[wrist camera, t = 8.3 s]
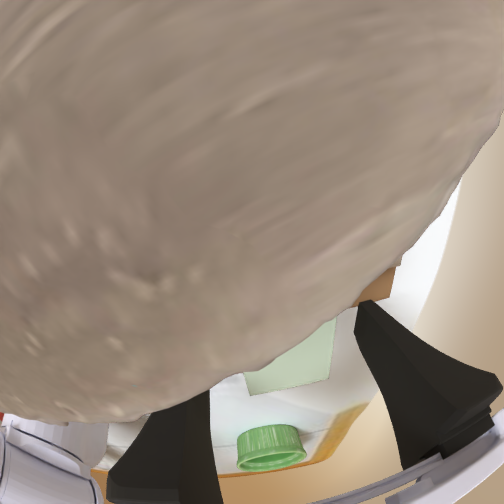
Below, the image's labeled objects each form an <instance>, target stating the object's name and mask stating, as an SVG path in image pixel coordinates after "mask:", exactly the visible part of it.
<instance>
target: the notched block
mask: <svg viewBox="0 0 504 504" xmlns="http://www.w3.org/2000/svg"><path fill="white" fill-rule="evenodd" d="M336 320H337V316H336V317H335V318H334V319H333V320H331V321H328V322H325V323H324V324H323V325H322V326H321V327H319V328H318V329H317V330H316V331H315V332H314V333H313V334H312V335H310V336H309V337H308V338H307V339H305V340H304V341H303V342H301V343H300V344H298V345H297V346H295V347H293V348H292V349H290V350H289V351H287V352H286V353H284V354H282V355H281V356H279V357H277V358H275V360H274V361H273V362H272V363H270V364H269V365H267V366H266V367H264V368H263V369H261V370H259V371H254V372H243V373H244V377H245V380H246V384H247V387H248V391H249V394H250V396H252V395H258V394H263V393H268V392H273V391H278V390H283V389H288V388H292V387H297V386H301V385H305V384H309V383H313V382H317V381H321V380H325V379H329V372H330V366H331V359H332V352H333V344H334V336H335V328H336Z"/></svg>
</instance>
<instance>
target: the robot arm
mask: <svg viewBox="0 0 504 504" xmlns="http://www.w3.org/2000/svg"><path fill="white" fill-rule="evenodd" d="M354 335H355V337H356V340H357V343H358V346H359V348H360V351H361V353H362V355H363V357H364V359H365V361H366V363H367V365H368V367H369V369H370V371H371V373H372V375H373V376H374V378H375V380H376V382H377V384H378V386H379V388H380V391H381V393H382V395H383V398H384V401H385V403H386V406H387V409H388V412H389V415H390V419H391V422H392V425H393V428H394V432H395V437H396V440H397V445H398V450H399V455H400V460H401V465H402V468H403V471H402V472H400V473H397V474H395V475H393V476H390V477H388V478H385V479H383V480H381V481H378V482H375V483H373V484H370V485H368V486H365V487H362V488H359V489H356V490H353V491H350V492H347V493H344V494H342V495H338V496H334V497H331V498H328V499H324V500H320V501H316V502H312V503H308V504H357V503H360V502H363V501H366V500H369V499H371V498H374V497H376V496H379V495H381V494H384V493H386V492H389V491H391V490H393V489H395V488H398V487H400V486H402V485H404V484H407V483H408V482H410V481H413V480H415V479H417V478H418V479H417V480H416V483H415V484H414V485H412V486H410V487H408V488H406V489H404V490H402V491H400V492H398V493H396V494H394V495H392V496H389V497H388V498H386V499H385V501H386V504H453V503H454V502H456V501H457V500H459V499H460V498H462V497H463V496H464V495H466V494H467V493H468V492H470V491H471V490H472V489H474V488H475V487H476V486H477V485H479V484H480V483H481V482H482V481H484V479H486V478H487V477H488V476H490V475H491V474H492V473H493V472H494V471H495V470H496V469H497V468H499V467H500V466H501V465H502V464H503V463H504V408H503V409H501V410H500V411H499V412H497V413H496V414H495V415H494V416H492V417H490V414H489V413H490V412H491V408H490V407H489V405H490V404H491V403H492V402H493V401H494V400H495V399H496V398H497V397H498V396H499V394H500V393H501V392H502V390H503V386H502V384H501V383H500V381H499V380H498V378H497V377H496V375H495V374H493V373H490V372H487V371H483V370H480V369H477V368H474V367H472V366H469V365H467V364H464V363H462V362H460V361H457V360H456V359H454V358H451V357H450V356H447V355H445V354H444V353H442V352H440V351H438V350H437V349H435V348H434V347H432V346H430V345H429V344H427V343H426V342H424V341H422V340H421V339H420V338H418V337H417V336H416V335H414V334H413V333H412V332H410V331H409V330H408V329H406V328H405V327H404V326H403V325H401V324H400V323H399V322H398V321H396V320H395V319H394V318H393V317H392V316H390V315H389V314H388V313H387V312H386V311H384V310H383V309H382V308H381V307H380V306H378V305H377V304H376V303H375V302H374V301H372V300H371V299H370V300H366V301H362V302H359V305H358V311H357V317H356V322H355V328H354ZM68 423H69V425H68V426H58V425H50V424H46V423H43V422H40V421H37V420H28V419H24V418H20V417H18V416H16V415H13V414H6V413H5V414H4V417H3V421H2V425H1V428H0V504H104V501H103V497H102V493H101V490H100V488H99V486H98V484H97V482H96V481H95V480H94V478H92V477H91V476H90V471H91V468H93V467H95V466H96V465H98V464H99V463H100V461H101V460H102V458H103V457H104V455H105V452H106V448H107V438H108V429H109V423H96V424H87V423H82V422H68ZM106 499H107V500H108V501H109V502H112V503H114V504H223V499H222V495H221V491H220V486H219V481H218V476H217V471H216V466H215V460H214V454H213V448H212V441H211V432H210V389H209V390H207V391H205V392H203V393H200V394H198V395H196V396H194V397H193V398H191V399H189V400H187V401H185V402H182V403H180V404H177V405H175V406H172V407H170V408H166V409H163V410H159V411H156V412H152V413H151V415H150V416H149V418H148V420H147V422H146V423H145V425H144V427H143V428H142V430H141V431H140V433H139V434H138V436H137V437H136V439H135V440H134V441H133V443H132V444H131V446H130V447H129V448H128V450H127V451H126V452H125V453H124V455H123V456H122V457H121V458H120V459H119V460H118V462H117V463H116V464H115V465H114V466H113V467H112V468H111V469H110V470H109V472H108V478H107V490H106Z"/></svg>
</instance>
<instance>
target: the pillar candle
mask: <svg viewBox="0 0 504 504" xmlns="http://www.w3.org/2000/svg"><path fill="white" fill-rule="evenodd" d="M503 110H504V0H0V412H2V413H6V414H13V415H16V416H18V417H20V418H24V419H28V420H37V421H40V422H43V423H46V424H50V425H58V426H68V425H69V423H68V422H82V423H87V424H96V423H117V422H133V421H137V420H138V419H139V418H141V417H142V416H143V415H144V414H149V413H152V412H156V411H159V410H163V409H166V408H170V407H172V406H175V405H177V404H180V403H182V402H185V401H187V400H189V399H191V398H193V397H194V396H196V395H198V394H200V393H203V392H205V391H207V390H209V389H210V388H212V387H213V386H215V385H216V384H218V383H219V382H220V381H222V380H223V379H225V378H227V377H229V376H231V375H234V374H238V373H243V372H254V371H259V370H261V369H263V368H264V367H266V366H267V365H269V364H270V363H272V362H273V361H274V360H275V358H277V357H279V356H281V355H282V354H284V353H286V352H287V351H289V350H290V349H292V348H293V347H295V346H297V345H298V344H300V343H301V342H303V341H304V340H305V339H307V338H308V337H309V336H310V335H312V334H313V333H314V332H315V331H316V330H317V329H318V328H319V327H321V326H322V325H323V324H324V323H325V322H328V321H331V320H333V319H334V318H335V317H336V316H338V315H339V314H340V313H341V312H343V311H344V310H346V309H348V308H350V307H352V305H353V304H354V302H355V301H356V300H357V298H358V297H359V296H360V294H361V292H362V291H363V290H364V289H365V288H366V287H367V286H368V285H370V284H371V283H372V282H373V281H374V280H375V279H377V278H378V277H379V276H380V275H381V274H382V273H384V272H385V271H386V270H387V269H388V268H389V267H390V266H391V265H392V264H394V263H395V262H396V261H397V260H398V259H399V258H400V257H401V256H402V255H403V254H404V253H405V252H406V251H407V250H409V249H410V248H411V247H413V245H414V244H415V243H416V242H417V240H418V239H419V238H420V236H421V235H422V234H423V233H424V231H425V230H426V229H427V228H428V226H429V225H430V224H431V223H432V222H433V221H434V220H435V219H436V218H438V217H439V216H440V214H441V212H442V211H443V209H444V207H445V206H446V204H447V202H448V200H449V198H450V196H451V194H452V193H453V191H454V190H455V189H456V187H457V185H458V183H459V181H460V179H461V177H462V175H463V174H464V172H465V171H466V170H467V168H468V167H469V166H470V164H471V163H472V162H473V160H474V159H475V157H476V156H477V154H478V153H479V151H480V149H481V148H482V146H483V145H484V144H485V143H486V142H487V140H488V139H489V138H490V137H491V136H492V135H493V133H494V132H495V130H496V129H497V127H498V126H499V123H500V117H501V115H502V113H503Z"/></svg>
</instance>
